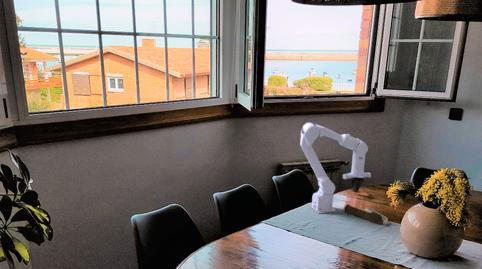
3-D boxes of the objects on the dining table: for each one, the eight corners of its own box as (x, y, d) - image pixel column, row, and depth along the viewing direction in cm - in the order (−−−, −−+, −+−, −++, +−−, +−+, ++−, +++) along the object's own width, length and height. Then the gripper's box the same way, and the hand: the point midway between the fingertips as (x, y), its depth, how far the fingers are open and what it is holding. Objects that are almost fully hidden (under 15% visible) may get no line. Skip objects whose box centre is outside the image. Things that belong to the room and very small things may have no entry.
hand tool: (343, 212, 173) (344, 203, 172) (348, 210, 176) (349, 202, 175) (378, 227, 159) (379, 217, 158) (383, 225, 161) (384, 215, 160)
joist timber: (381, 224, 162) (382, 218, 161) (365, 213, 173) (365, 208, 172) (387, 223, 162) (387, 218, 162) (370, 212, 174) (370, 207, 173)
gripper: (349, 168, 166) (347, 196, 169) (376, 166, 170) (373, 193, 173) (341, 164, 173) (339, 190, 175) (366, 162, 177) (364, 188, 180)
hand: (355, 191), depth 175 cm, fingers closed
